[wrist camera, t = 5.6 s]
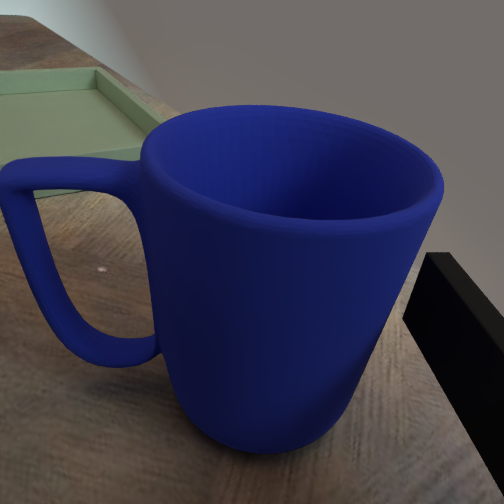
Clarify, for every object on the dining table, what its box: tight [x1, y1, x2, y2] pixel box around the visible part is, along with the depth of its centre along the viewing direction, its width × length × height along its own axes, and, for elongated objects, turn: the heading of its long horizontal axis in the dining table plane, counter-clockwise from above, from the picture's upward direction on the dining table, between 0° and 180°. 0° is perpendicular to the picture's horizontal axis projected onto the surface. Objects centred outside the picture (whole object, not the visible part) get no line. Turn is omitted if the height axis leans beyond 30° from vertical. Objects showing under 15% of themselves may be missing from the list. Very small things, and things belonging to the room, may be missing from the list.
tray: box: [0, 67, 167, 198], centre depth 37 cm, size 22×18×3 cm
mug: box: [0, 105, 444, 454], centre depth 15 cm, size 8×12×10 cm
